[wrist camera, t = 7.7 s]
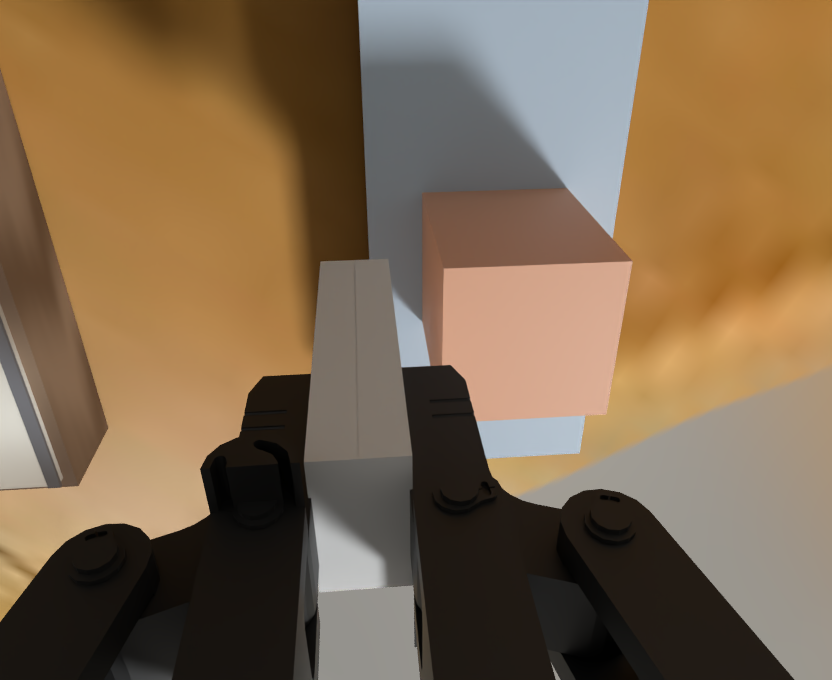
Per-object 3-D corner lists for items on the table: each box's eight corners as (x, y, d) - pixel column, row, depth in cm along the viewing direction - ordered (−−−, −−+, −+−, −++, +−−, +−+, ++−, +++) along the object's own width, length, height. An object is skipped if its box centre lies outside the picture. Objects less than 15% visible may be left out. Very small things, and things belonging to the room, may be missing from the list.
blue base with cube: (355, -43, 18) (357, -37, 11) (607, -45, 19) (769, -40, 11) (375, 406, 26) (384, 585, 18) (554, 396, 26) (630, 567, 19)
